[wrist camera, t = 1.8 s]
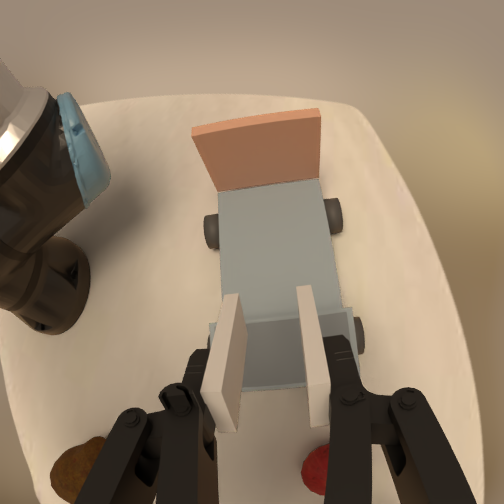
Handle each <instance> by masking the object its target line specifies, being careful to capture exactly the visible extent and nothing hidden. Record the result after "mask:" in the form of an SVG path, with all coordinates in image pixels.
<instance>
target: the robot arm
mask: <svg viewBox="0 0 504 504" xmlns="http://www.w3.org/2000/svg"><path fill="white" fill-rule="evenodd" d="M110 179H111V173H110V169H109V166H108V163H107V161H106V159H105V157H104V155H103V152H102V150H101V148H100V146H99V144H98V142H97V140H96V138H95V136H94V134H93V132H92V130H91V128H90V126H89V124H88V122H87V120H86V118H85V116H84V114H83V113H82V111H81V109H80V107H79V105H78V104H77V102H76V100H75V99H74V98H73V96H72V95H71V93H69V92H66V93H64V94H60V95H58V96H57V99H56V100H55V99H54V98H53V97H52V96H51V95H50V93H49V92H48V91H47V90H46V89H45V88H44V87H23V86H22V85H21V84H20V83H19V81H18V80H17V79H16V78H15V76H14V75H13V74H12V73H11V71H10V70H9V69H8V68H7V66H6V65H5V64H4V62H2V60H1V59H0V308H2V309H5V310H8V311H10V312H12V313H13V314H14V315H16V316H17V317H18V318H19V319H20V320H22V321H23V322H24V323H25V324H27V325H28V326H29V327H30V328H32V329H33V330H35V331H37V332H40V333H44V334H48V335H57V334H60V333H63V332H64V331H66V330H67V329H69V328H70V327H71V326H72V325H73V324H74V323H75V321H76V320H77V319H78V317H79V316H80V314H81V312H82V310H83V308H84V305H85V303H86V300H87V296H88V292H89V285H90V270H89V264H88V261H87V258H86V256H85V254H84V252H83V251H82V249H81V248H80V247H79V246H77V245H76V244H74V243H73V242H71V241H70V240H68V239H66V238H63V237H57V236H53V235H54V234H55V233H57V232H58V231H59V230H60V229H61V228H62V227H63V226H65V225H66V224H67V223H68V222H69V221H70V220H72V219H73V218H74V217H75V216H76V215H77V214H79V213H80V212H81V211H82V210H84V209H87V208H88V206H89V204H90V203H91V202H92V201H93V200H94V199H95V198H96V197H97V196H99V195H100V194H101V193H102V192H103V191H104V190H105V189H106V188H107V187H108V185H109V182H110ZM296 291H297V301H298V310H299V320H300V330H301V339H302V348H303V357H304V366H305V376H306V386H307V396H308V406H309V418H310V428H311V427H319V426H327V425H329V424H330V443H329V457H328V469H327V480H326V490H325V499H324V504H372V447H371V444H380V445H381V447H382V450H383V452H384V455H385V458H386V461H387V464H388V467H389V470H390V473H391V476H392V478H393V481H394V484H395V487H396V491H397V494H398V497H399V500H400V503H401V504H477V503H476V500H475V498H474V496H473V493H472V491H471V489H470V486H469V484H468V482H467V480H466V477H465V475H464V473H463V471H462V469H461V467H460V464H459V462H458V460H457V458H456V456H455V454H454V452H453V450H452V448H451V446H450V444H449V442H448V440H447V438H446V436H445V434H444V432H443V430H442V428H441V426H440V424H439V422H438V420H437V418H436V417H435V415H434V413H433V411H432V409H431V407H430V405H429V403H428V402H427V400H426V398H425V396H424V395H423V394H422V393H421V391H419V390H417V389H415V388H409V387H407V388H401V389H399V390H397V391H396V392H395V393H394V394H393V395H392V396H385V395H376V394H373V393H370V392H369V391H367V390H366V389H365V388H364V387H363V385H362V383H361V379H360V376H359V372H358V369H357V365H356V362H355V358H354V355H353V351H352V348H351V345H350V341H349V340H348V339H347V338H346V337H345V336H344V335H343V334H342V335H335V336H328V337H322V335H321V330H320V325H319V320H318V315H317V311H316V306H315V301H314V297H313V292H312V287H311V285H304V286H296ZM247 336H248V333H247V329H246V324H245V320H244V315H243V311H242V306H241V301H240V297H239V293H236V294H226V295H224V298H223V302H222V306H221V310H220V314H219V318H218V322H217V326H216V329H215V333H214V337H213V341H212V346H211V349H196V350H195V352H194V353H193V354H192V355H191V356H190V358H189V361H188V364H187V368H186V371H185V374H184V377H183V380H182V383H174V384H170V385H168V386H166V387H165V388H164V389H163V390H162V391H161V392H160V394H159V396H158V397H159V399H160V401H161V403H162V404H163V406H164V408H165V410H163V411H159V412H154V413H149V414H146V412H145V411H144V410H143V409H140V408H130V409H127V410H125V411H124V412H122V413H121V415H120V416H119V417H118V419H117V421H116V423H115V424H114V426H113V428H112V430H111V432H110V434H109V436H108V438H107V439H106V441H105V443H104V445H103V447H102V449H101V451H100V453H99V455H98V457H97V459H96V460H95V462H94V464H93V466H92V468H91V470H90V472H89V474H88V476H87V478H86V480H85V482H84V484H83V486H82V488H81V490H80V492H79V494H78V496H77V498H76V500H75V502H74V504H153V501H154V499H155V496H156V504H219V495H218V469H217V441H216V438H215V436H214V432H215V426H216V428H217V430H218V432H237V426H238V417H239V408H240V399H241V391H242V382H243V373H244V363H245V354H246V345H247ZM156 493H157V495H156Z"/></svg>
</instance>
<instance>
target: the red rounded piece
mask: <svg viewBox="0 0 504 504" xmlns="http://www.w3.org/2000/svg"><path fill="white" fill-rule="evenodd" d="M328 457H329V444H327V445H324V446H321V447H319V448H317V449H316V450H314V451H313V452H311V453H310V454H309V456H308V457H307V458H306V460H305V461H304V463H303V466H302V470H301V475H302V479H303V482H304V484H305V485H306V486H307V487H308V489H309V490H310V491H312V492H315V493H317V494H319V495H323V496H325V490H326V480H327V469H328Z"/></svg>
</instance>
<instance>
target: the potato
mask: <svg viewBox="0 0 504 504" xmlns="http://www.w3.org/2000/svg"><path fill="white" fill-rule="evenodd" d="M105 441H106V439H105V438H103V437H101V436H99V437H94V438H92V439H90V440H89V441H87V442H86V443H85V444H82V445H79V446H75V447H73V448H70V449H68V450H67V451H65V452H64V453H63V454H62V455H61V456H60V457H59V459H58V460H57V461H56V462H55V463H54V466H53V468H52V470H51V472H50V480H51V486H52V488H53V489H54V490H55V492H56V493H57V495H58V496H59V497H61V498H62V499H63V500H65V501H67V502H69V503H70V504H74V502H75V500H76V498H77V496H78V494H79V492H80V490H81V488H82V486H83V484H84V482H85V480H86V478H87V476H88V474H89V472H90V470H91V468H92V466H93V464H94V462H95V460H96V459H97V457H98V455H99V453H100V451H101V449H102V447H103V445H104V443H105Z"/></svg>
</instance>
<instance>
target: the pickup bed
mask: <svg viewBox="0 0 504 504" xmlns="http://www.w3.org/2000/svg"><path fill="white" fill-rule="evenodd" d="M218 213H219V214H213V215H207V216H205V217H204V235H205V239H206V243H207V245H208V247H209V248H210V249H212V248H220V269H221V291H222V302H223V298H224V295H226V294H236V293H239V297H240V301H241V306H242V311H243V315H244V320H245V324H246V329H247V333H248V336H247V345H246V354H245V363H244V373H243V382H242V391H241V392H249V391H265V390H277V389H288V388H298V387H307V386H306V376H305V366H304V357H303V348H302V339H301V330H300V320H299V310H298V301H297V291H296V286H304V285H311V287H312V292H313V297H314V301H315V306H316V311H317V315H318V320H319V325H320V330H321V335H322V337H328V336H335V335H342V334H343V335H344V336H345V337H346V338H347V339H348V340H349V341H350V345H351V348H352V351H353V355H354V358H355V362H356V365H357V369H358V372H359V376H360V368H359V359H358V355H359V354H363V353H364V348H365V339H364V331H363V326H362V322H361V319H360V318H359V317H353V312H352V307H349V308H343V307H342V301H341V294H340V287H339V281H338V275H337V269H336V263H335V257H334V252H333V246H332V241H331V235H330V233H336V232H342V229H343V218H342V210H341V206H340V202H339V200H338V198H332V199H323V196H322V192H321V187H320V183H319V179H314V180H305V181H297V182H289V183H282V184H274V185H267V186H260V187H253V188H246V189H240V190H233V191H227V192H221V193H218ZM216 326H217V323H209V328H210V335H209V337H208V343H207V349H211V346H212V341H213V337H214V333H215V329H216Z"/></svg>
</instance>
